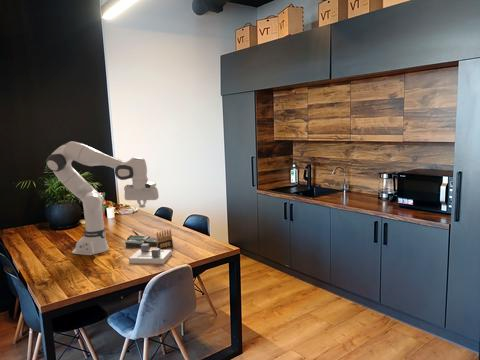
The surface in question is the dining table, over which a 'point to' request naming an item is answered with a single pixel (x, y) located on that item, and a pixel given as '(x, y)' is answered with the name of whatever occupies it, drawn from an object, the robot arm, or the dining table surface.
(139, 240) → the communication device
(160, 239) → the ammunition clip
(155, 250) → the tab near
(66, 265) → the dining table surface
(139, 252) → the switch panel
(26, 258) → the dining table surface
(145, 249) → the tab far
